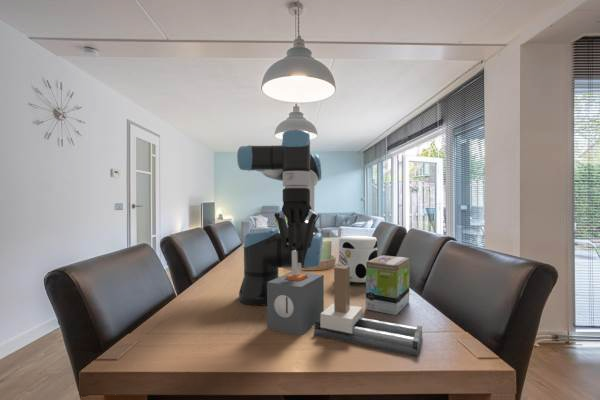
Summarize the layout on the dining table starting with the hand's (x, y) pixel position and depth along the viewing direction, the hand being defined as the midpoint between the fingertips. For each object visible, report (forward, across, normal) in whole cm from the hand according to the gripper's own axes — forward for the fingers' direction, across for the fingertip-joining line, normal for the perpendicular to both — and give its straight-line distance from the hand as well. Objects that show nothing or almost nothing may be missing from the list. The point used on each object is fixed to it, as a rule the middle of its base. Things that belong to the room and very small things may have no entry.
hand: (296, 274), depth 84 cm
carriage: (+11, +13, 0) cm, 17 cm away
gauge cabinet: (+13, 0, 0) cm, 13 cm away
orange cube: (+4, 0, 0) cm, 4 cm away
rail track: (+13, +19, 0) cm, 23 cm away
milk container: (+13, +2, +49) cm, 51 cm away
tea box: (+13, +19, +25) cm, 34 cm away
